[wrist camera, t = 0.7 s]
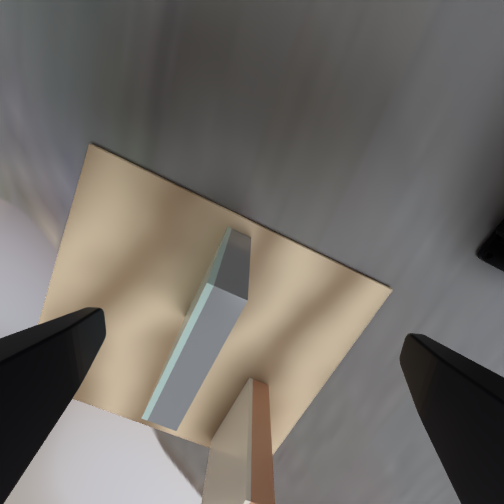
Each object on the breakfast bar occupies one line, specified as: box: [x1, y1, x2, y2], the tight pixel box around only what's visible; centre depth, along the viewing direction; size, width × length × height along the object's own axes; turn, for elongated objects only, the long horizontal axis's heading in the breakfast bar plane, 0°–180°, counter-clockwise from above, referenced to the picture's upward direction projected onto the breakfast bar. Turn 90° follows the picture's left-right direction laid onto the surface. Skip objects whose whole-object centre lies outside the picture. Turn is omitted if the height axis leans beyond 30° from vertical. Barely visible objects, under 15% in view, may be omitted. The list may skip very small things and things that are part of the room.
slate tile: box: [141, 227, 251, 431], centre depth 17 cm, size 2×8×9 cm, turn 154°
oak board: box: [38, 144, 392, 455], centre depth 23 cm, size 23×21×1 cm
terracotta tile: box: [201, 378, 275, 504], centre depth 21 cm, size 2×8×9 cm, turn 154°
